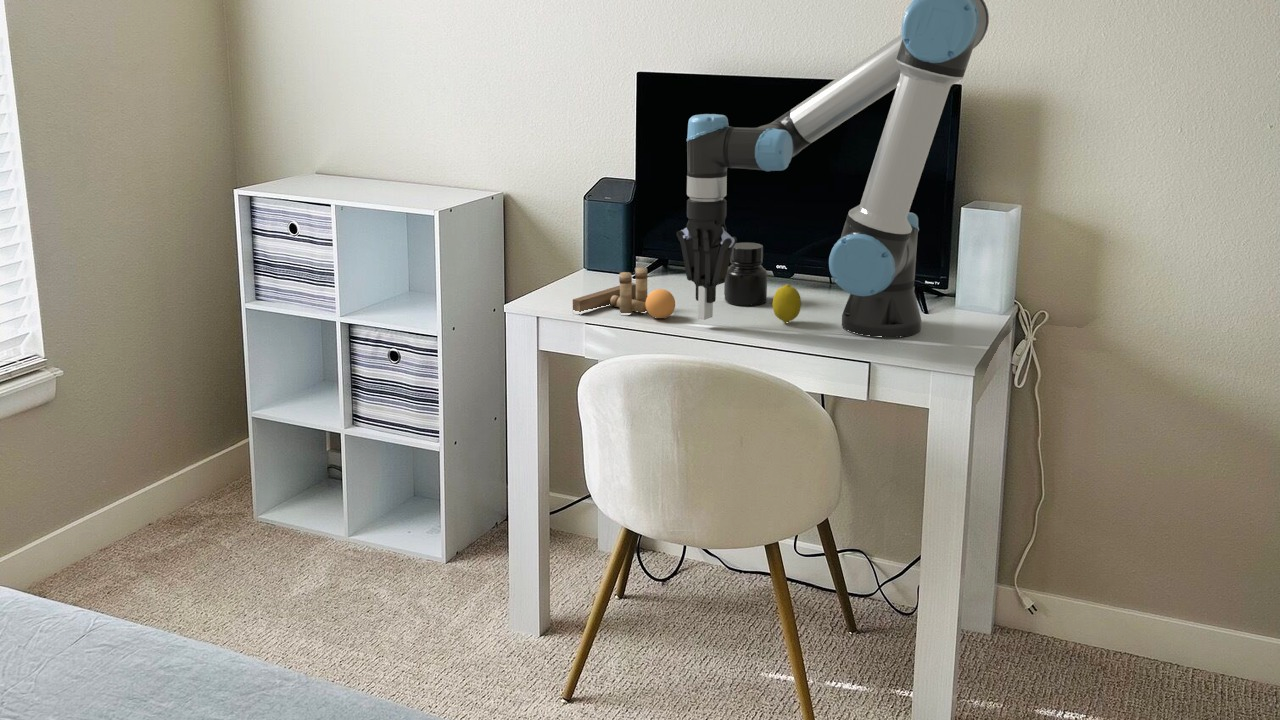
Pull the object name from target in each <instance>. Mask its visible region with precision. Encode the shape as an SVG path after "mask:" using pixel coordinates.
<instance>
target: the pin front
mask: <svg viewBox="0 0 1280 720" xmlns="http://www.w3.org/2000/svg"><path fill="white" fill-rule="evenodd" d="M645 303H646V302H642V301H638V300H636V299H632V312H633V311H638V312H645V311H647V309H646V305H645ZM610 305H611V307H612V306H614V307H613V308H615V307H619V308H618V309H620V296H616V295H614V296H612V297H611V299H610ZM638 312H637V313H638ZM647 312H648V311H647Z"/></svg>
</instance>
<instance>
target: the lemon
mask: <svg viewBox="0 0 1280 720" xmlns="http://www.w3.org/2000/svg"><path fill="white" fill-rule="evenodd" d="M801 300H802V299H801V294H800V293H799V291H798V290H797V288H795V287H793V286H791V285H790V284H788V283H786V284H785V285H783V286H781V287H779V288H778V289H777V290H776V291H775V293H774V296H773V299H772V309H773V310H772V311H773V313H774V315H775V317H776V318H777V319H778V320H781V321H782V322H783V323H784V322H788V323H789V322H790V321H793V320H795V318H797V317H798V315H799V314H800V312H801V309H802V307H801V306H802V302H801Z"/></svg>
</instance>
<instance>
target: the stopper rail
mask: <svg viewBox="0 0 1280 720" xmlns="http://www.w3.org/2000/svg"><path fill="white" fill-rule="evenodd" d="M614 295H616V296H620V285H615V286H613V287H610V288H607V289H604V290H599V291H597V292H593V293H590V294H586V295H583V296H580V297H577V298H573V299H572V311H573V310H575V311H579V312H581V311H584V310H588V309H593V308H597V307H601V306H606V305H609V304H610V299H611V297H612V296H614ZM633 298H634V299H636V283H633V282H632V299H633ZM634 299H633V300H634Z"/></svg>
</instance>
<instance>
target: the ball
mask: <svg viewBox="0 0 1280 720" xmlns="http://www.w3.org/2000/svg"><path fill="white" fill-rule="evenodd" d="M645 305H646V309H647V313H648V314H649V315H650V316H651V317H653V318H654V317H656V318H655V319H657V318H664V319H666V317H667V318H668V317H670V316H672V314H673V313H674V311H675V308H676V300H675V296H674V294H672V293H671V292H670V291H668V290H667V289H662V288H657V289H654V290H652V291H651V292H649V293H648V294H647V298H646V303H645Z"/></svg>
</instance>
